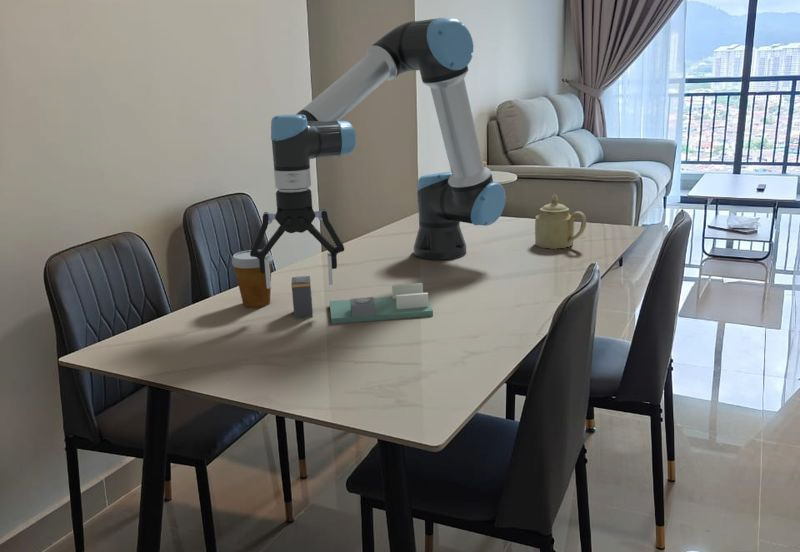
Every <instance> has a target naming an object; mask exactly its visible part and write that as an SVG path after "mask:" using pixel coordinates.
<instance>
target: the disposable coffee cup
mask: <svg viewBox="0 0 800 552" xmlns="http://www.w3.org/2000/svg"><path fill="white" fill-rule="evenodd" d="M261 250H262V249H258V251H261ZM250 252H251V249H250V250H243V251H239V252H236V253H234V254H233V255H232V259H231V264H232V266H233V267H234V268H233V269H234V271H235V276H236V280H237V284H238V289H239V293H240V297H241V301H242V306H243V307H246V308H256V309H257V308H263V307H265V306H268V305H269V304H270V303H271V289H272V286H271V287H270V288H268V289H267V285H266V273H261V272H260V264H259V259H258V258H257V257H251V256H250ZM268 256H269V268H270V281H271V282H272V263H273V260H274V257H273V256H272V253H271V251H269V252H268V254H267V255H266V256H265V257H268Z"/></svg>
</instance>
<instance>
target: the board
mask: <svg viewBox="0 0 800 552" xmlns="http://www.w3.org/2000/svg"><path fill="white" fill-rule="evenodd" d="M391 290H392V293H391V294H392V295H391V296H383V297H382V296H381V297H380V296H378V297H373V296H368V297H358V298H357V297H356V298H355V297H354V298H350V299H341V300H339V299H338V300H329V309H330V310H329V311H330V319H331V320H330V321H331V325H333V324H336V325H337V324H346V323H359V322H360V323H363V322H372V321H384V320H385V321H387V320H398V319H399V320H400V319H410V318H422V317H423V318H424V317H433V316H434V309H433V308H432V306H431V305H430V303H429V292H424V285H423V282H416V283H415V282H414V283H401V284H392V285H391Z"/></svg>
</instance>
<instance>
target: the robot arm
mask: <svg viewBox="0 0 800 552" xmlns="http://www.w3.org/2000/svg"><path fill="white" fill-rule="evenodd" d="M473 53H474V41H473V37H472V34H471V32H470V30H469V29H468V27H467V26H466V25H465V24H464V23H463V22H461V21H460V20H458V19H457V18H451V17H450V18H448V17H447V18H445V17H439V18H438V17H437V18H432V19H431V18H430V19H424V20H414V21H407V22H405V23H402V24H400V25H397V26H396V27H394V28H393V29H391V30H390V31H389V32H387V33H386V34H384V35H383V36H381V37H380V38H379V39H378V40H377V41H375V42H374V43H373V44H372V45H371V46H370V47H368V48H367V50H366V55H365V56H364V57H363V58H362V59H361V60H359V61H358V62H357V63H356V64H354V65H353V66H352V67H351V68H349V70H348V71H347V70H346V72H345V73H343V74H342V75H341V76H340V77H339V78H338V79H336V81H334V82H333V83H332V84H331V85H330V86H328V87H327V88H326V89H325V90H324V91H322V92H321V93H320V94H319V95H318V96H317V97H315V98H314V99H313V100H312V101H310V102H309V103H308V104H307V105H305V106H304V107H303V108H301V110H299V111H298V112H296V113H295V114H279V115H274V116H273V117H272V119H271V121H270V140H271V146H272V147H271V148H272V149H271V150H272V160H273V169H274V170H273V174H274V187H275V188H276V189H277V190H276V192H275V199H276V200H275V201H276V202H275V203H276V213H269V212H267V211H265V212H264V213H262V221H261V222H262V223H261V226H260V228H259V230H258V234H257V235H256V238H255V240H254V243H253V245H252V247H251V249H250V250H251V252H250V256H251V257H257V258H258V259H259V264H260V272H261V273H266V285H267V289H268V288H270V287H271V288H272V285H271V284H272V280H271V281H270V268H269V256H268V257H265V256H266V255H267V254H268V252H271V250H272V249H273V248H274V246H275V244H276V243H277V242H278V240H279V239H280V238H281V237H282V236H283V234H284V233H285V232H286V233H288V234H294V233H300V234H301V233H305V232H306V231H308V232H309V233H310V234H311V235H312V236H313V237H314V238H315V239H316V240H317V241H318V242H319V243H320V244H321V245H322V246H323V247H324V248H325V249H326V250H327V268H328V283H329V285H330V286H331V285H334V283H333V281H334V279H333V270H334V269H337V267H338V261H337V257H338V256H337V255H338V254H339V253H343V252H345V246H344V244H343V242H342V240H341V239H340V237H339V235H338V233H337V231H336V230H335V228H334V226H333V225H332V223H331V221H330V219H329V217H328V210H327V209H325V208H322V210H319V211H315V210H314V208H313V200H312V199H313V196H312V190H311V189H310V188H311V186H312V182H311V181H312V180H311V179H312V178H311V177H312V176H311V165H310V163H311V162H310V161H311V159H314V160H315V159H317V158H318V159H319V158H327V157H330V158H331V157H341V156H344V155H348V154H350V153H352V152H353V151H354V150H355V147H356V144H357V133H356V131H355V128H354V126H353V125H352V123H350V122H349V121H348V120H342V119H343V118H344V117H345V116H346V115H347V114H348V113H349V112H351V111H352V110H353V109H354V108H356V106H358V104H360V103H361V102H362V101H364V100H365V99H366V98H367V97H368V96H369V95H370V94H371V93H373V92H374V91H375V90H377V88H378V87H379V86H381V85H382V84H383V83H384V82H385V81H389V82H390V81H393V80H395V78H397V77H398V76H399V75H401V74H404V73H406V72H411V71H419V74H420V77H421V81H422V84H424V85H426V86H428V87H429V88H430V92H431V95H432V100H433V104H434V109H435V111H436V116H437V120H438V123H439V128H440V132H441V137H442V141H443V144H444V148H445V151H446V156H447V159H448V164H449V167H450V171H447V172H446V171H445V172H436V173H430V174H429V173H428V174H425V175H422V176H420V177H419V178H418V180H417V182H418V183H417V190H416V191H417V209H418V230H417V235H416V237H415V240H414V244H413V254H414V256H415V257H417V258H420V259H426V260H438V261H439V260H451V259H457V258H461V257H462V256H465V255H466V253H467V244H466V241H465V239H464V235H463V233H462V230H461V229H462V228H461V223H465V224H466V223H467V224H471V225H474V226H484V227H487V226H490V225H493V224H494V223H496V221H498V219H499V218H500V217H501V215H502V214H503V212H504V211H503V210H504V209H505V205H506V200H507V199H506V190H505V188H504V186H503V185H501V184H500V183H499V182H496V181H494V180H493V174H492V171H491V169H490V168H488V167H487V166H485V165H484V162H483V157H482V152H481V148H480V143H479V138H478V135H477V131H476V126H475V121H474V117H473V111H472V107H471V103H470V100H469V99H470V98H469V95H468V89H467V86H466V85H467V84H466V81H465V77H466V75H467V74H468V72H469V66H468V65H469V64H470V63H471V61H472V58H473ZM315 218H317V219H318V220H319V221H320V222H322V223H323V225H324V227H325V229H326V230H327V232H328V233H329V235H330V237H331V239H332V241H333V242H334V244H335V245H336V246H334V245H333V244H332V243H331V241H329V240H328V239H327V238H326V237H325V236H324V235H323V234H322V233H321V232H320V231H319V230H318V229H317V228H316V227H315V225H313V224H312V223H313V221H314V220H315ZM274 220H275V221H276V222H277V223H278V224H279V226H278V227H277V228H276V230H275V232H274V233H273V235H272V236H271V237H270V239H269V240H268V241H267V242H266V244H265V245H264V246H263V248H262V249H260V250H261V251H258V250H259V248H260V246H261V244H262V240H263V239H264V236H265V233H266V232H267V229H268V226H269V224H272V223H273V221H274Z"/></svg>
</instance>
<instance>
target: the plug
mask: <svg viewBox="0 0 800 552" xmlns="http://www.w3.org/2000/svg"><path fill="white" fill-rule="evenodd" d="M290 285H291V286H290V287H291V292H292V293H291V295H292V305H293V306H292V307H293V316H294V317H293V318H294V319H305V318H313V317H314V316H313V314H314V311H313V299H312V285H311V276H310V275H308V276H306V275H297V276H292V277H291V284H290Z"/></svg>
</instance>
